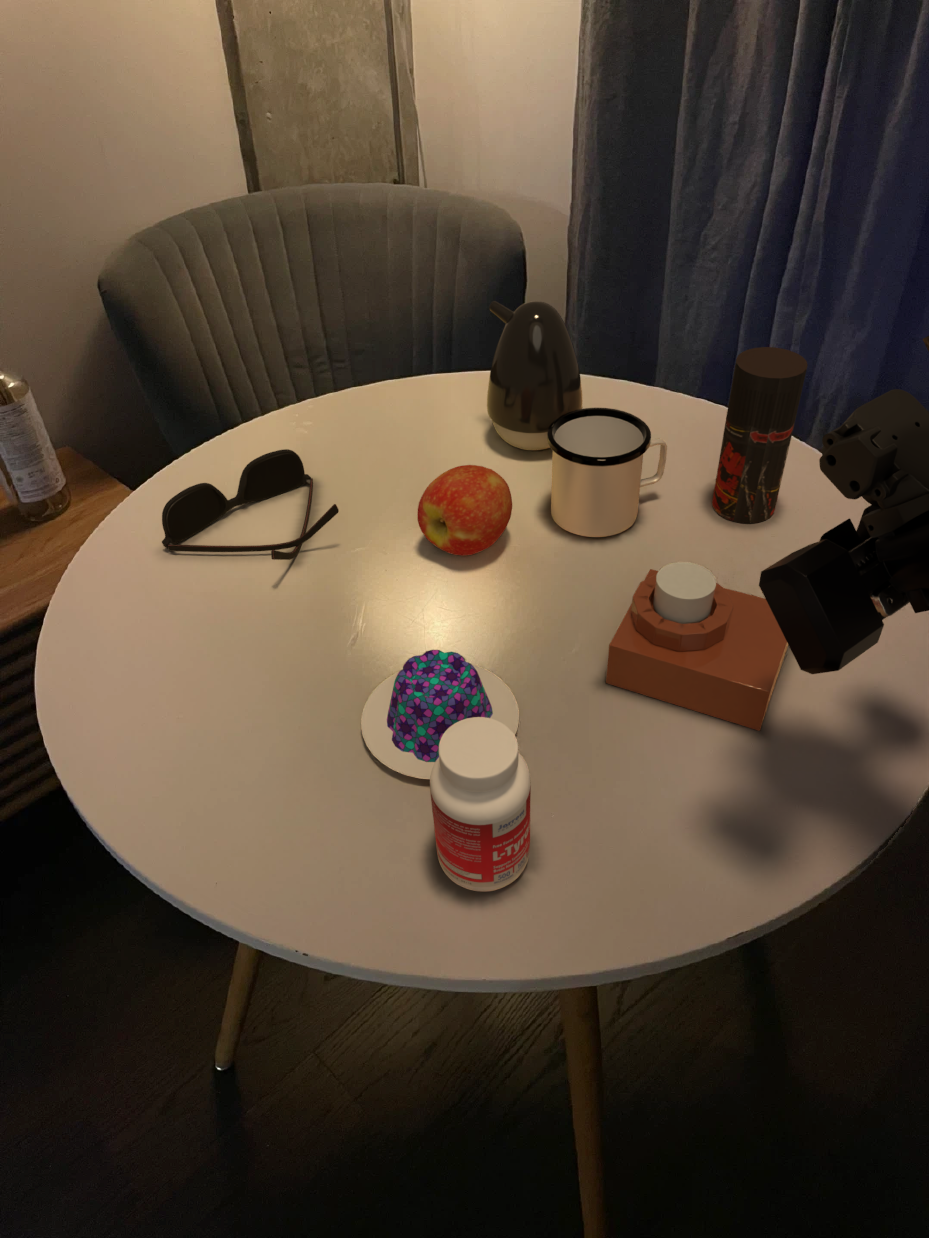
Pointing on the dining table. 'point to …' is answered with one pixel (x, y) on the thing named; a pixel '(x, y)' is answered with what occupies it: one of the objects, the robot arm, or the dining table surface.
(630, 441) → the mug
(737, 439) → the deodorant
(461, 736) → the pill bottle
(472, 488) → the apple
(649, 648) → the button housing
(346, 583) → the dining table surface
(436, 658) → the pudding
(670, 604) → the white cylinder
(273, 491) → the sunglasses
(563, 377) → the pump dispenser
